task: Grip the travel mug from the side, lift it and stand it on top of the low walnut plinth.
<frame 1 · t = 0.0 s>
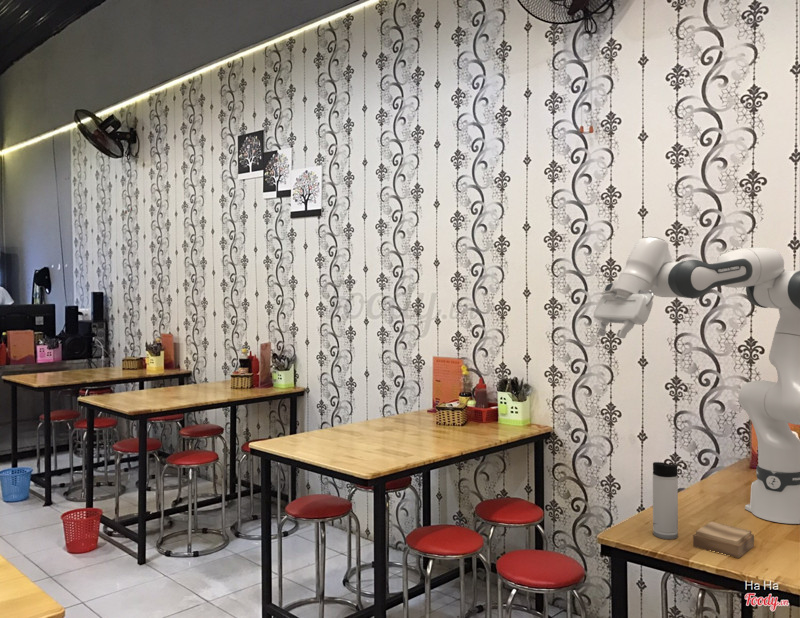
hand: (609, 336, 174), 54 cm above the table, tool tilted 30°, fingers open, 8 cm apart
travel mug: (665, 536, 176), on the table
plinth: (723, 546, 168), on the table
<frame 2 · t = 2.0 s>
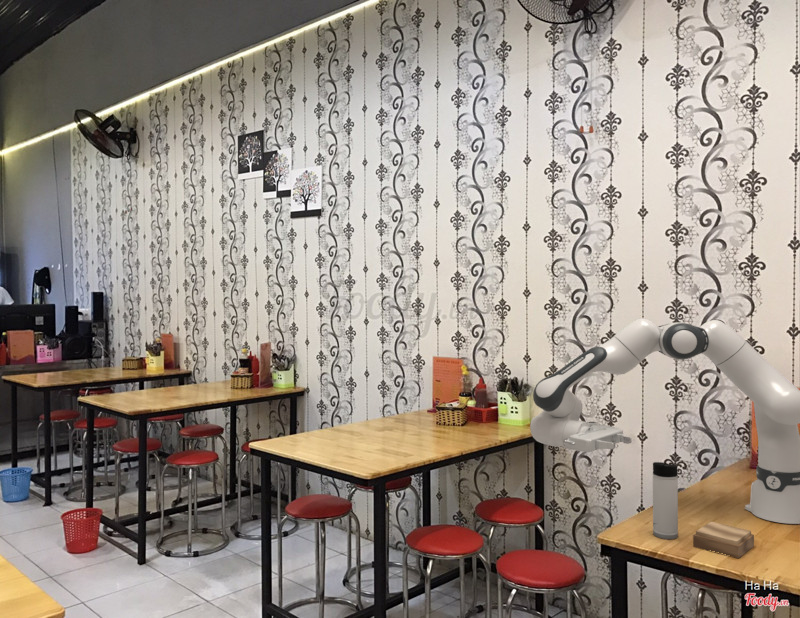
hand: (622, 443, 184), 23 cm above the table, tool horizontal, fingers open, 8 cm apart
nothing on the table moved.
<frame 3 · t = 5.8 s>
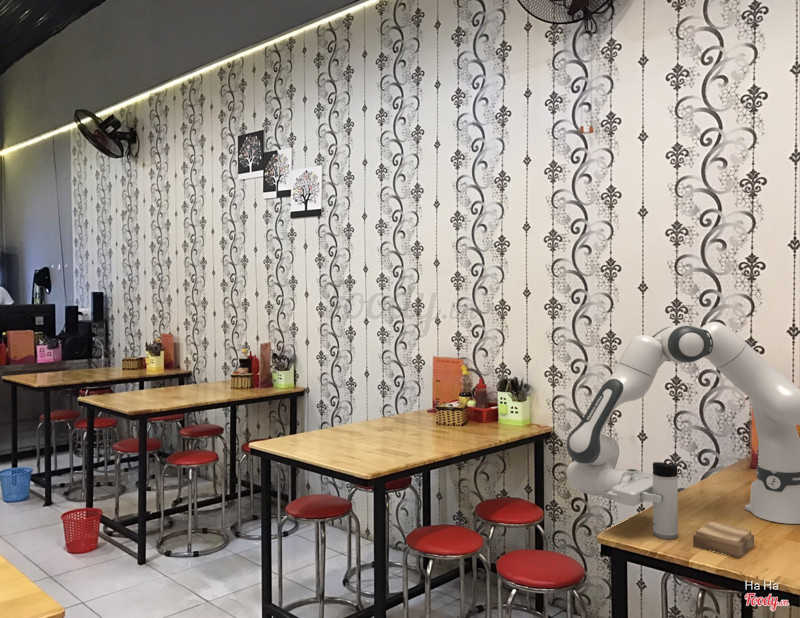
hand: (668, 495, 175), 11 cm above the table, tool horizontal, fingers closed on travel mug, 6 cm apart
travel mug: (665, 536, 176), on the table, touching gripper
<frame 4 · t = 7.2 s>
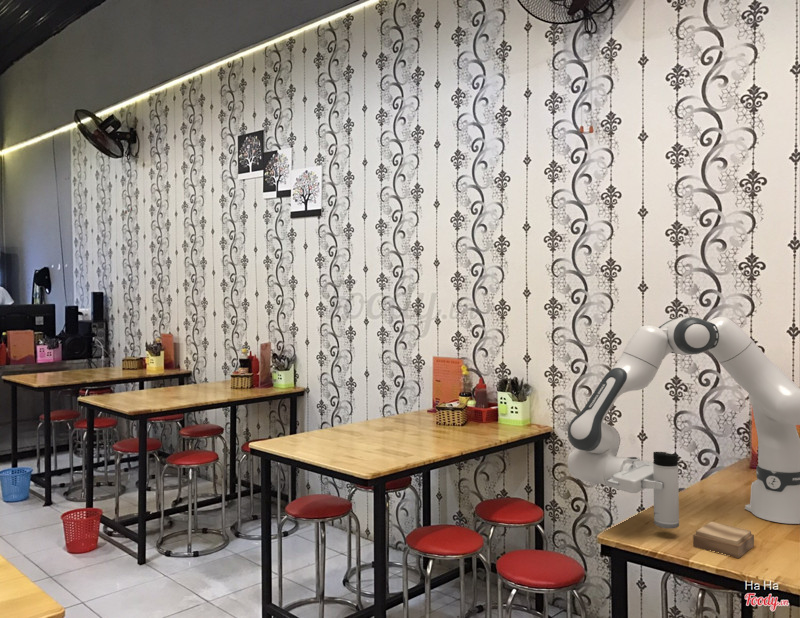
hand: (669, 482, 175), 15 cm above the table, tool horizontal, fingers closed on travel mug, 6 cm apart
travel mug: (666, 525, 176), point 3 cm above the table, touching gripper
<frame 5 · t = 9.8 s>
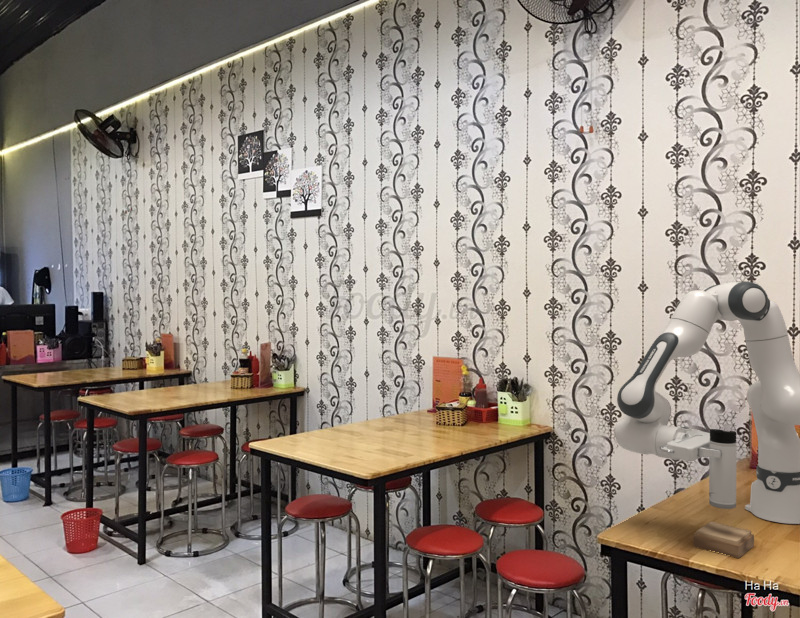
hand: (726, 451, 167), 25 cm above the table, tool horizontal, fingers closed on travel mug, 6 cm apart
travel mug: (722, 506, 168), point 11 cm above the table, touching gripper
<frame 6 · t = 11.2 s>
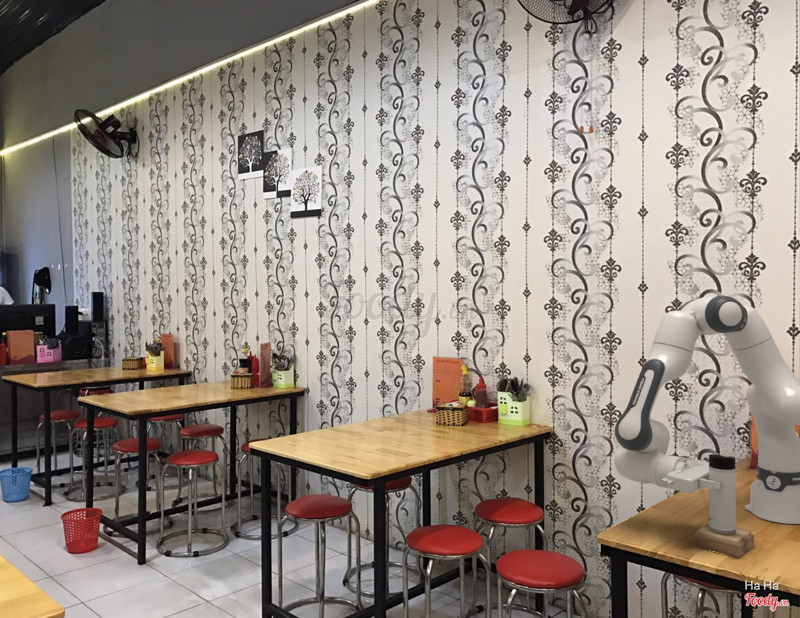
hand: (726, 482, 167), 17 cm above the table, tool horizontal, fingers closed on travel mug, 6 cm apart
travel mug: (722, 531, 168), point 4 cm above the table, touching gripper, plinth
when the fingers open (17 cm above the table, at t = 11.7 s): travel mug stays where it is, resting on plinth.
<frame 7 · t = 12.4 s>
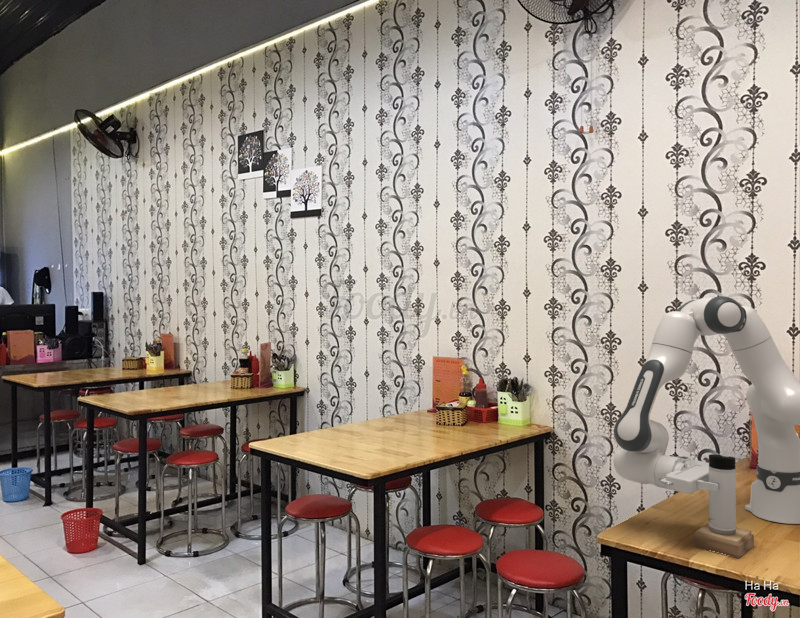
hand: (725, 483, 167), 17 cm above the table, tool horizontal, fingers open, 8 cm apart
travel mug: (722, 531, 168), point 4 cm above the table, touching plinth
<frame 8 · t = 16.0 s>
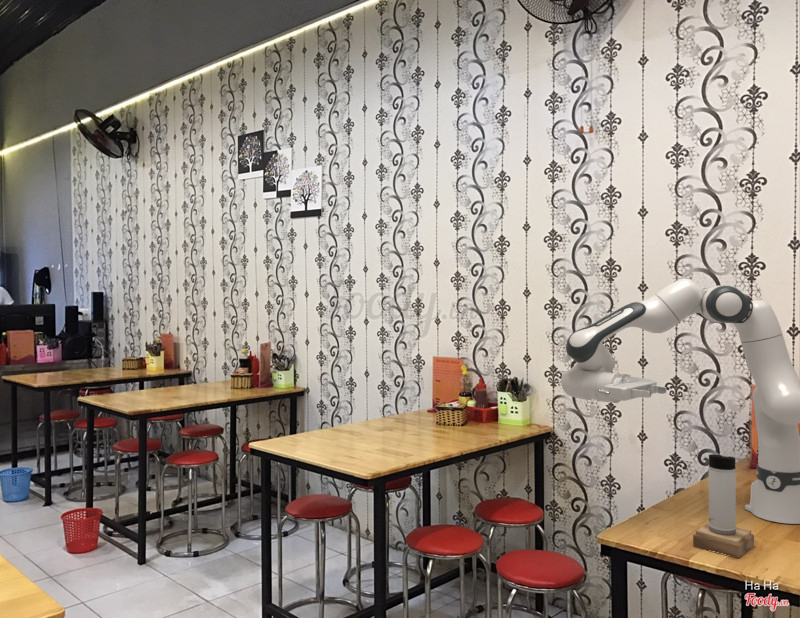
hand: (657, 392, 182), 38 cm above the table, tool horizontal, fingers open, 8 cm apart
nothing on the table moved.
at the end: travel mug inside the target area on the plinth (0.4 cm from its centre), point 3.8 cm above the plinth's base; travel mug tilted 0°; the gripper is holding nothing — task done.
